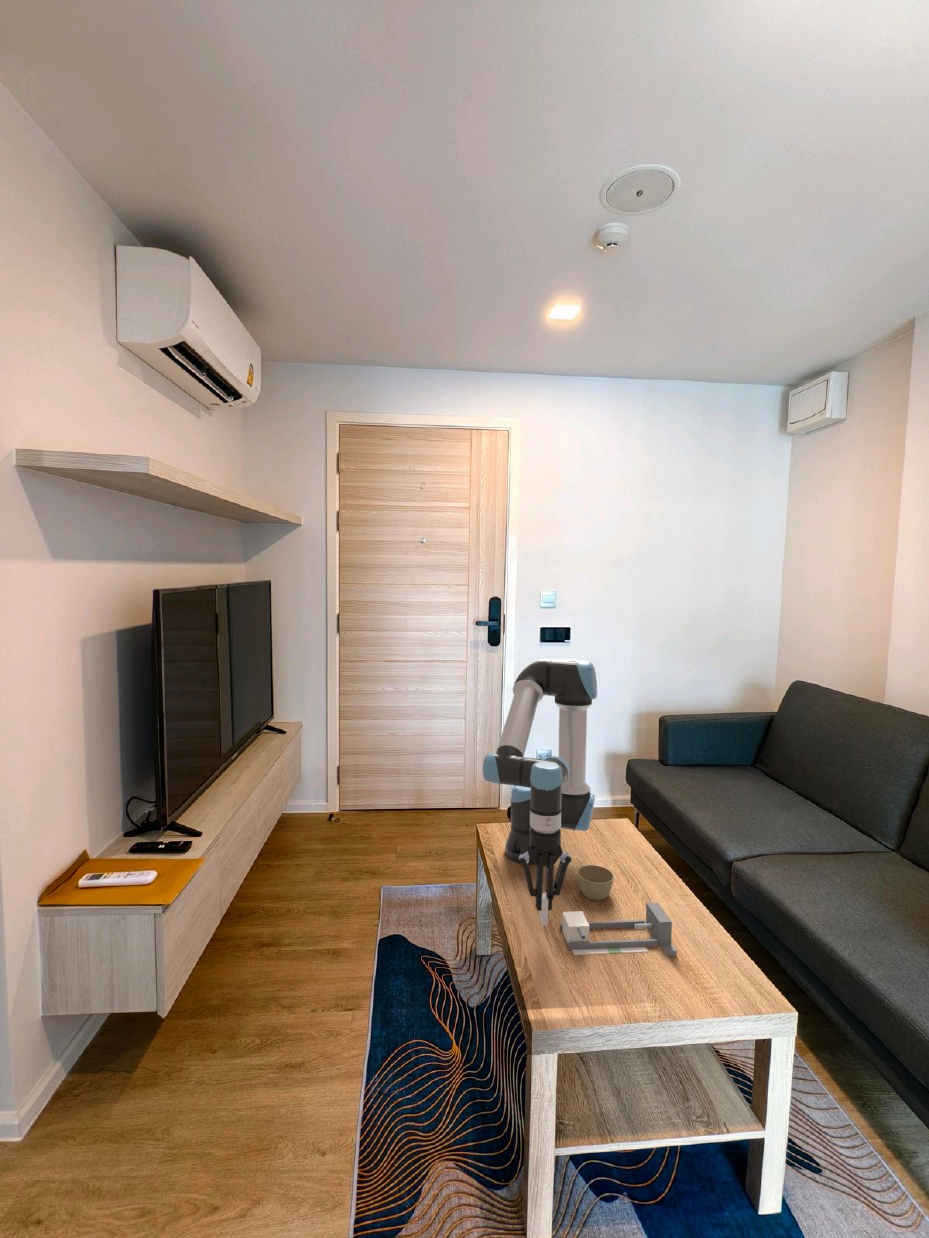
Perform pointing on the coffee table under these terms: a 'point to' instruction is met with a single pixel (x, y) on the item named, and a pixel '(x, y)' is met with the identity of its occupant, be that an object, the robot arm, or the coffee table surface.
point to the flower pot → (595, 881)
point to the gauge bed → (654, 923)
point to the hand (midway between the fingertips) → (543, 922)
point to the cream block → (575, 927)
